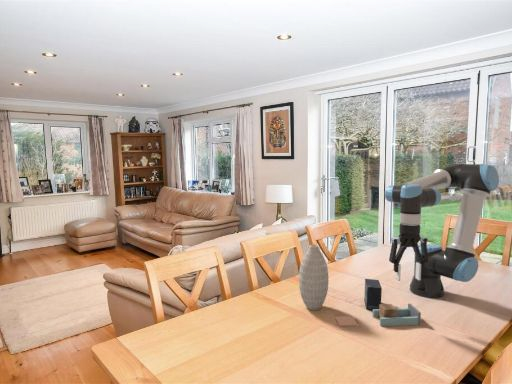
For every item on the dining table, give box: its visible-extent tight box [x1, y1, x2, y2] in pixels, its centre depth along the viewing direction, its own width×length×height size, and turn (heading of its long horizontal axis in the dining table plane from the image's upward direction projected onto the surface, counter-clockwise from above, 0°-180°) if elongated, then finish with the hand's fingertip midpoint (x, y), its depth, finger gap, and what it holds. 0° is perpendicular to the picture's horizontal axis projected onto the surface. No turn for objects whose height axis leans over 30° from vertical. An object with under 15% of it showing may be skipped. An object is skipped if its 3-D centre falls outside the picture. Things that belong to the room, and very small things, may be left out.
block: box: [378, 303, 398, 320], centre depth 143 cm, size 5×5×6 cm
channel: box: [372, 303, 422, 327], centre depth 144 cm, size 16×8×5 cm, turn 93°
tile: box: [334, 316, 359, 328], centre depth 143 cm, size 7×7×1 cm
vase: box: [298, 243, 329, 311], centre depth 155 cm, size 13×13×28 cm
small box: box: [363, 278, 383, 311], centre depth 158 cm, size 11×6×10 cm, turn 168°
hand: (407, 279), depth 142 cm, fingers open, 8 cm apart
